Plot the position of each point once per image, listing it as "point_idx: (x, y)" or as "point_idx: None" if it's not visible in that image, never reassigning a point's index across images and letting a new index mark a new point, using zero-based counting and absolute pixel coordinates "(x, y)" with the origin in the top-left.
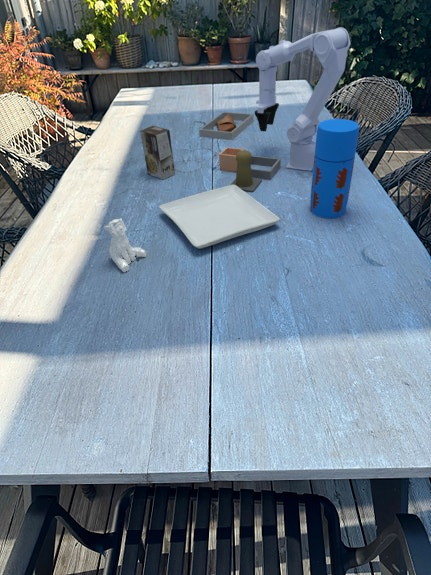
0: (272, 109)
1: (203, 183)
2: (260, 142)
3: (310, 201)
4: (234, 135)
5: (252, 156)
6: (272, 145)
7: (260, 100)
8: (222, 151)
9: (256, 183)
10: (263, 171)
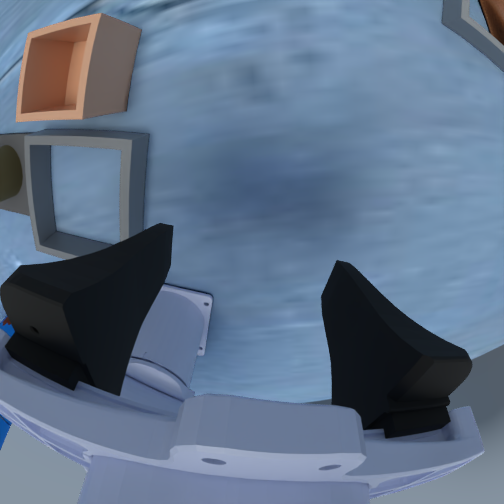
0: (349, 395)
1: (3, 52)
2: (419, 152)
3: (8, 321)
4: (470, 37)
5: (122, 151)
6: (379, 209)
7: (89, 499)
8: (52, 27)
9: (16, 206)
10: (33, 227)
